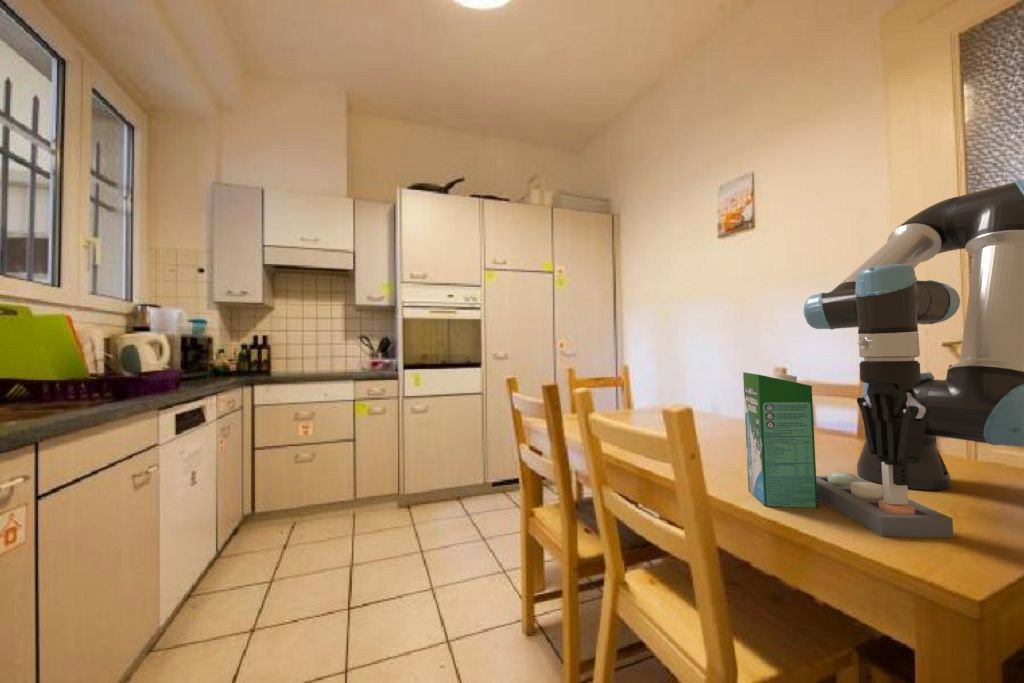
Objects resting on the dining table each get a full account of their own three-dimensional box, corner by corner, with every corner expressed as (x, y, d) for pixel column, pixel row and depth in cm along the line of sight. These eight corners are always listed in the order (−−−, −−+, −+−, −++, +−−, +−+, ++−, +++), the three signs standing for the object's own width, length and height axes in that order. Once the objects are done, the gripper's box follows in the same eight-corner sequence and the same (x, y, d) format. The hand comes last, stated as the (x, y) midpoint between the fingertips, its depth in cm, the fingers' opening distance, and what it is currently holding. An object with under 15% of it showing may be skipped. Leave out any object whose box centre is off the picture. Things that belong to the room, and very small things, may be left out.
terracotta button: (901, 516, 72) (900, 499, 72) (923, 527, 67) (922, 509, 67) (872, 516, 72) (871, 499, 72) (892, 527, 68) (891, 508, 68)
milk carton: (818, 508, 79) (811, 373, 79) (764, 506, 80) (758, 374, 81) (796, 492, 87) (790, 370, 88) (748, 490, 89) (742, 371, 90)
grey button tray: (803, 490, 88) (803, 475, 88) (856, 490, 87) (855, 476, 87) (881, 536, 66) (880, 517, 67) (953, 538, 65) (952, 518, 65)
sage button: (846, 485, 86) (846, 471, 86) (861, 492, 81) (861, 477, 81) (823, 485, 86) (822, 471, 86) (836, 492, 82) (836, 477, 82)
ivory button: (871, 497, 79) (870, 481, 79) (889, 506, 74) (888, 489, 74) (845, 497, 79) (845, 481, 79) (862, 505, 75) (861, 489, 75)
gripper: (838, 359, 77) (845, 489, 77) (893, 360, 64) (901, 517, 64) (884, 358, 76) (890, 490, 76) (948, 359, 64) (957, 518, 63)
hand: (895, 502), depth 70 cm, fingers closed
